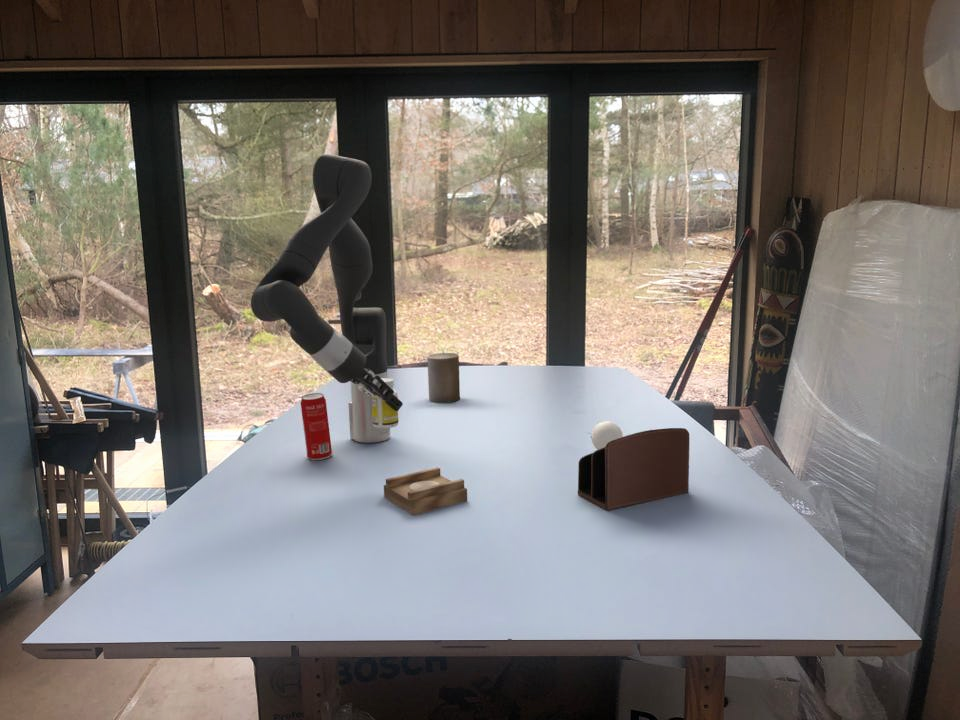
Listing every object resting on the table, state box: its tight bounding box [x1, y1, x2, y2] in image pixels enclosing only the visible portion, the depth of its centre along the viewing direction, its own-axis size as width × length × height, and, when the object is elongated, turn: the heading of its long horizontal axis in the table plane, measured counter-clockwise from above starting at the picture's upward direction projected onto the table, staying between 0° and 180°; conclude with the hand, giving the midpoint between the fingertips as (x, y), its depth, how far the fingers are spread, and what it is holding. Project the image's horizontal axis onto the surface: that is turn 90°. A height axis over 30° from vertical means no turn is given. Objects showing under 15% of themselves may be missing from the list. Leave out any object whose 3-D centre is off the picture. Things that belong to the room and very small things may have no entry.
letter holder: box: [577, 427, 690, 512], centre depth 149 cm, size 10×20×14 cm, turn 116°
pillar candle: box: [426, 351, 461, 404], centre depth 232 cm, size 10×10×15 cm
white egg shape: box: [588, 420, 624, 450], centre depth 177 cm, size 10×7×7 cm
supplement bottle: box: [372, 377, 399, 429], centre depth 159 cm, size 5×5×10 cm
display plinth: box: [383, 466, 468, 516], centre depth 149 cm, size 12×12×4 cm
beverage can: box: [300, 392, 333, 461], centre depth 177 cm, size 6×6×15 cm
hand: (392, 404), depth 160 cm, fingers closed on supplement bottle, 5 cm apart
